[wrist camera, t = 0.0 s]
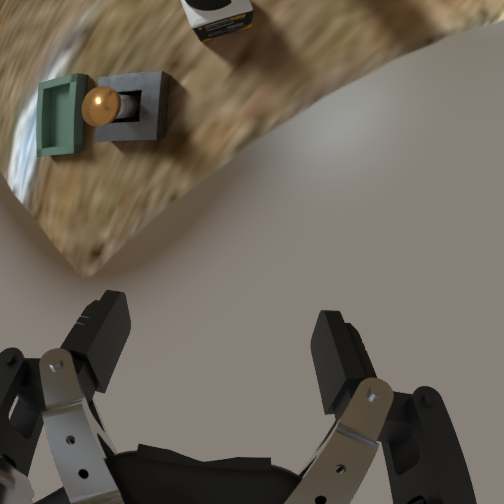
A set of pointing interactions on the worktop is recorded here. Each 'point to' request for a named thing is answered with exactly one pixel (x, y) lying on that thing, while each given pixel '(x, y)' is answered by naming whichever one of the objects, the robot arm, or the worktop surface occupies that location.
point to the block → (151, 107)
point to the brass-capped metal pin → (108, 106)
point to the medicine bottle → (217, 17)
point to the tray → (61, 115)
